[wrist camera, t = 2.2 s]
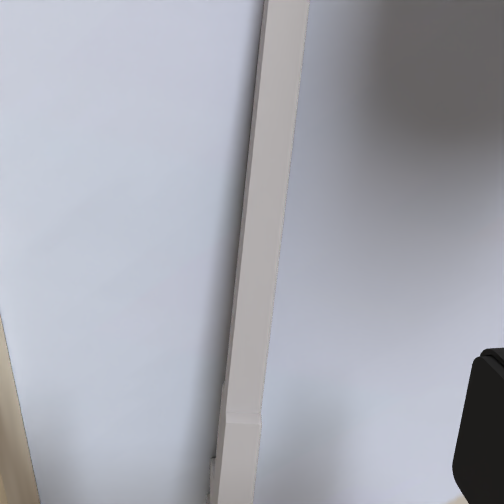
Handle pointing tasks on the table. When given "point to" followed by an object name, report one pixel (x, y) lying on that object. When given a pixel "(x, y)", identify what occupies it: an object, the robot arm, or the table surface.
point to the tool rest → (13, 440)
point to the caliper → (259, 249)
